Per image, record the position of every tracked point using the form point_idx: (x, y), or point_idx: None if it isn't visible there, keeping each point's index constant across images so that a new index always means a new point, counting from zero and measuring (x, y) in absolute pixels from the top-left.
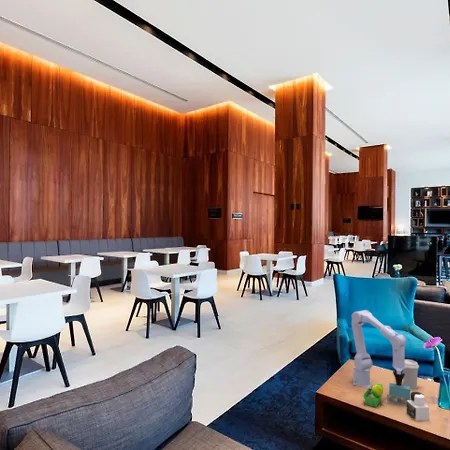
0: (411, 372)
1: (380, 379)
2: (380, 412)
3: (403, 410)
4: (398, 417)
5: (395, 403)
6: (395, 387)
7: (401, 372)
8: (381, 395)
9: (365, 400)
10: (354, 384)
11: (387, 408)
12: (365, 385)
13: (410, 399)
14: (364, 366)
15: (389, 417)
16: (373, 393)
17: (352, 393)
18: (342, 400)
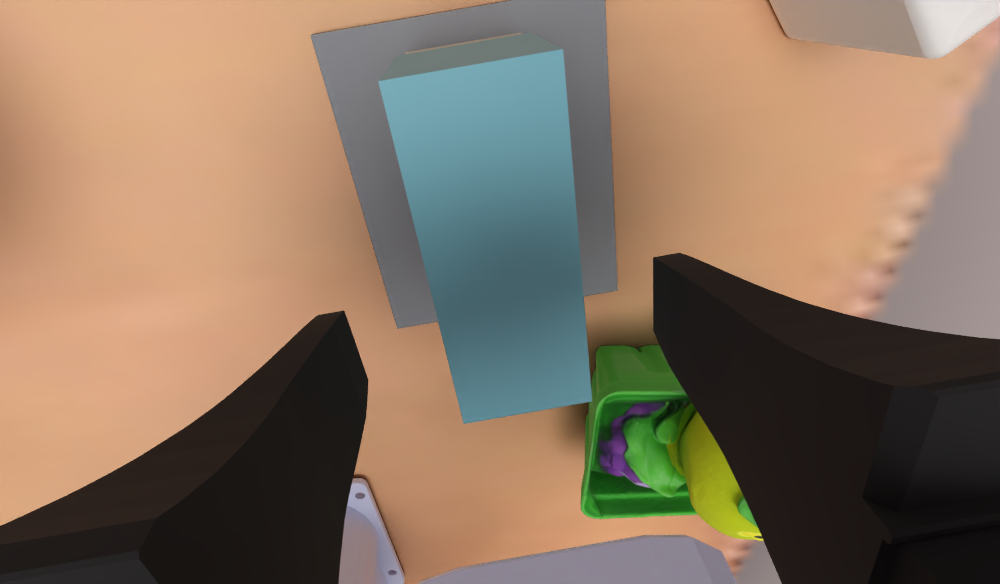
0: None
1: (21, 458)
2: (842, 294)
3: (701, 91)
4: (900, 118)
5: (590, 207)
6: (581, 313)
7: (279, 437)
8: (678, 383)
9: None
10: (401, 578)
11: (728, 257)
12: (363, 522)
13: (336, 46)
14: None
15: (924, 202)
16: None
17: (572, 539)
18: (736, 549)
